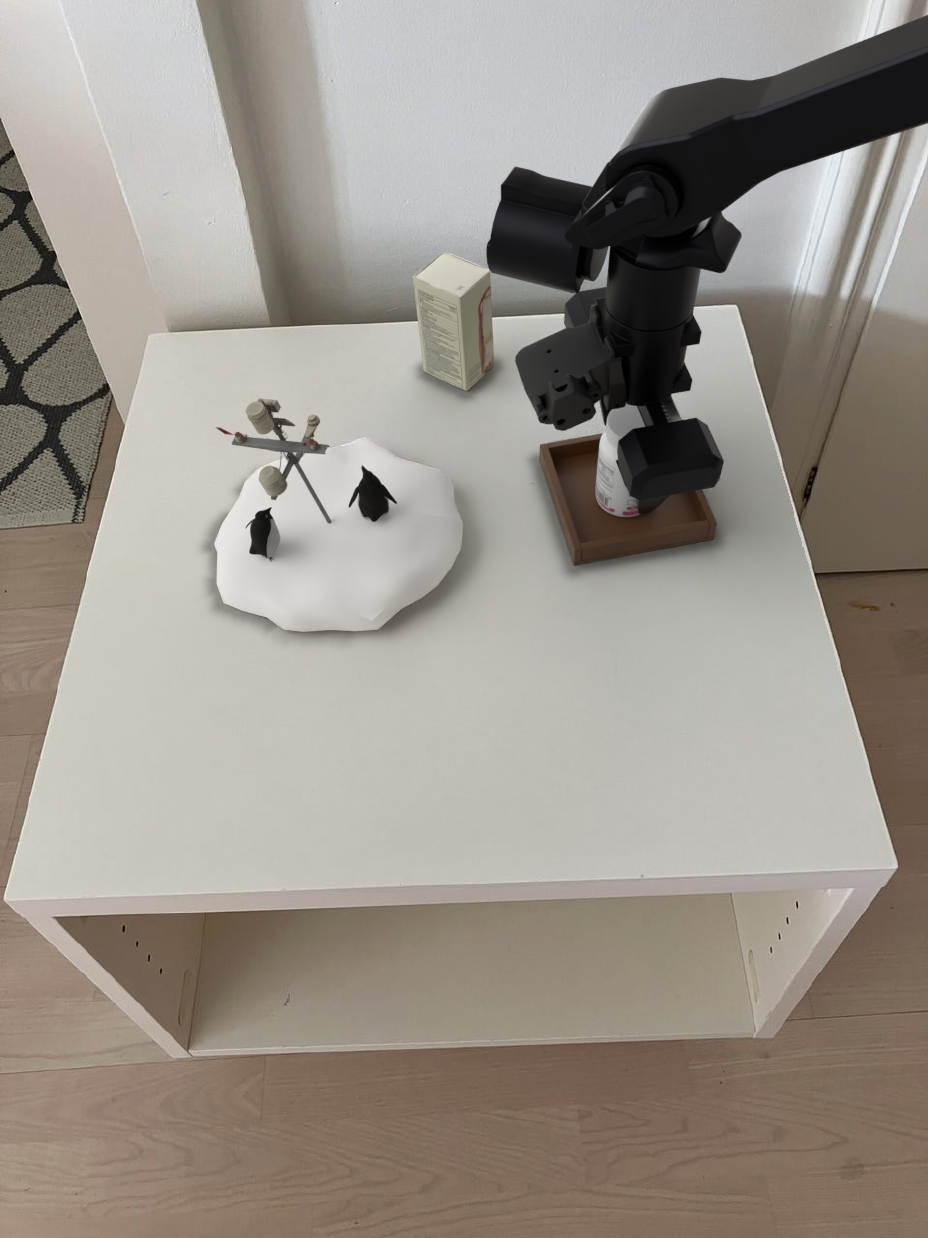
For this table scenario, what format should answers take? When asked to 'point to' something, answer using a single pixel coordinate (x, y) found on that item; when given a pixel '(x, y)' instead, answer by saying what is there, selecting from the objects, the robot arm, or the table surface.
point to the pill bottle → (608, 478)
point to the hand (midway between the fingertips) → (627, 466)
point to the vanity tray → (602, 532)
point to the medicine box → (455, 319)
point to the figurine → (333, 531)
